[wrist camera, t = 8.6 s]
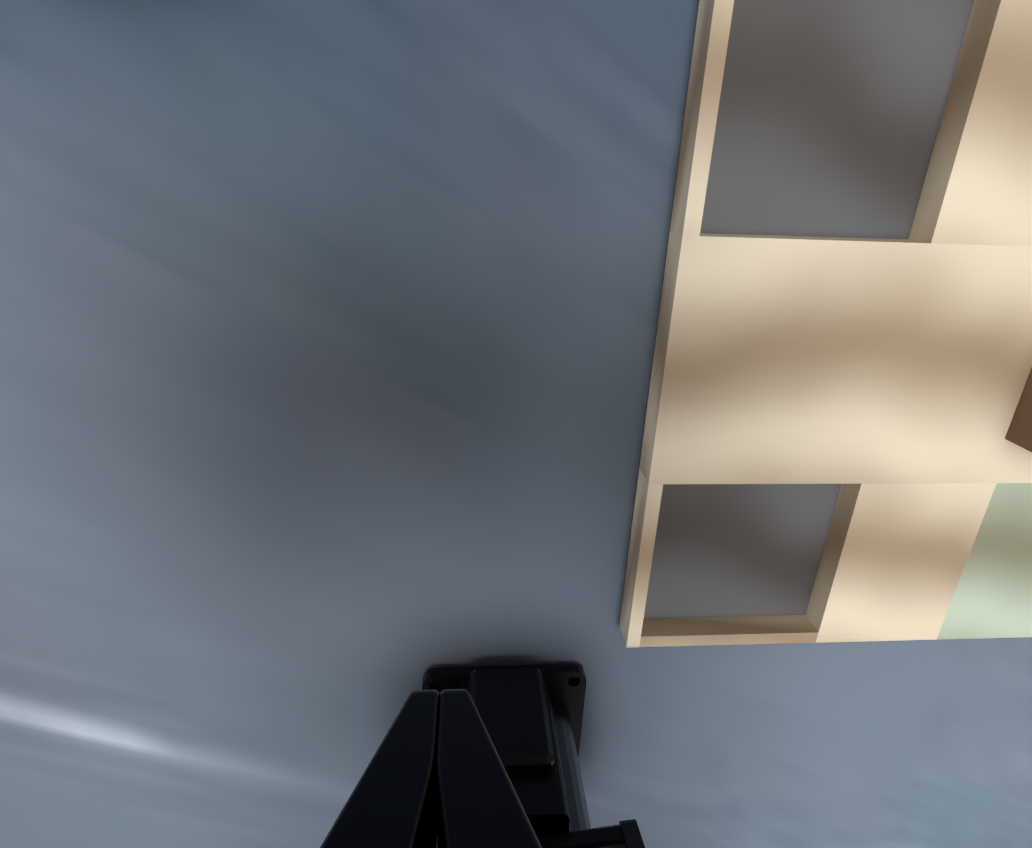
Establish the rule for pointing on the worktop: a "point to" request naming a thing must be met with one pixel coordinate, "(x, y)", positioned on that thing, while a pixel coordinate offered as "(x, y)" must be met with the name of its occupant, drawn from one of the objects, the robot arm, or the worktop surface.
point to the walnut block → (1022, 419)
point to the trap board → (842, 332)
